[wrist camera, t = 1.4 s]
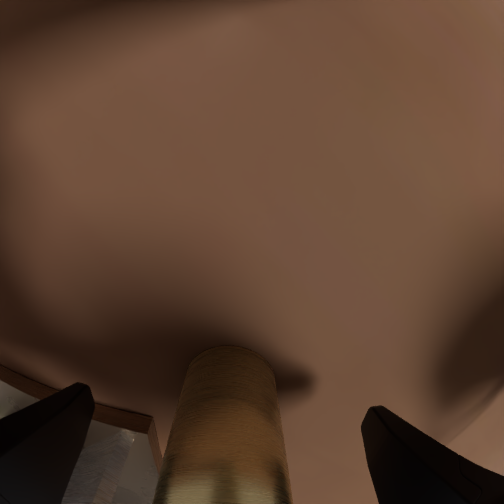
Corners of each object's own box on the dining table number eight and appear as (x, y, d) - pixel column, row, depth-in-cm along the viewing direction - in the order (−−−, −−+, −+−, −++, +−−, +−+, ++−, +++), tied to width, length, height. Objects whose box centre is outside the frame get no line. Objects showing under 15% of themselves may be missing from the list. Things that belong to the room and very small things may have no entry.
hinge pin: (268, 412, 9) (289, 613, 1) (188, 406, 9) (150, 604, 1) (280, 348, 9) (331, 613, 1) (185, 341, 8) (109, 598, 1)
